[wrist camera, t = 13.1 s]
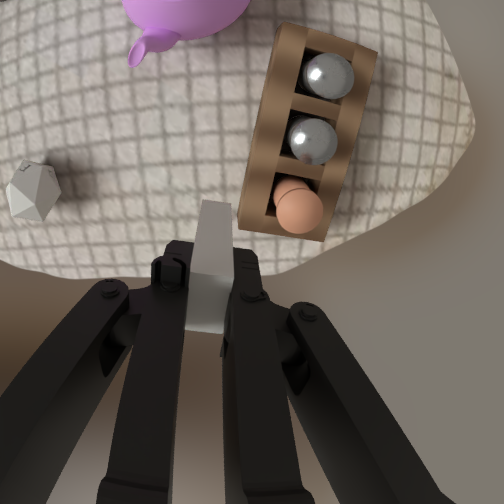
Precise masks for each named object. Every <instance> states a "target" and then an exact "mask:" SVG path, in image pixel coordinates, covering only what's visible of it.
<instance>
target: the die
mask: <svg viewBox="0 0 504 504" xmlns="http://www.w3.org/2000/svg"><path fill="white" fill-rule="evenodd" d="M6 192H7V197H8V201H9V206H10V210H11V215H12V217H16V218H22V219H28V220H34V221H40V222H43V221H44V220H45V218H46V216H47V215H48V213H49V212H50V210H51V208H52V207H53V205H54V204H55V202H56V201H57V199H58V198H59V196H60V195H61V190H60V187H59V184H58V181H57V178H56V174H55V171H54V168H53V167H52V166H48V165H43V164H40V163H35V162H31V161H27V160H23V161H22V163H21V165H20V166H19V168H18V169H17V171H16V173H15V174H14V176H13V178H12V179H11V181H10V183H9V185H8V186H7V188H6Z"/></svg>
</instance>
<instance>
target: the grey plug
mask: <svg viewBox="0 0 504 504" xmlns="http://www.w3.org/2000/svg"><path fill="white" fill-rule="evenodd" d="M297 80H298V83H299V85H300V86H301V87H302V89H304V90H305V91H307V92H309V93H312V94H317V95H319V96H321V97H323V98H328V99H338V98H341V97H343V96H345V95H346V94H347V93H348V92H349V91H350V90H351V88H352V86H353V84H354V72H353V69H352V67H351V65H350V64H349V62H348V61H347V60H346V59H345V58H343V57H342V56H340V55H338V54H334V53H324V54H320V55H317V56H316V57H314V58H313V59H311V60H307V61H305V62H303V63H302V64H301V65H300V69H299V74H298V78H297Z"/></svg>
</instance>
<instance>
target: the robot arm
mask: <svg viewBox="0 0 504 504" xmlns="http://www.w3.org/2000/svg"><path fill="white" fill-rule="evenodd" d="M2 1H6V0H0V2H2ZM258 264H259V263H258V257H257V255H256V254H255V253H254V252H253V251H252V250H250V249H242V248H235V247H233V239H232V211H231V203H224V202H218V201H211V200H204V199H203V200H202V205H201V211H200V216H199V221H198V226H197V232H196V237H195V243H192V242H185V241H178V240H172V241H171V242H170V243H169V244H167V245H166V248H165V252H164V255H163V256H160V257H158V258H156V259H154V260H153V262H152V263H151V285H149V286H148V287H145V288H141V289H131V290H128V286H127V285H126V284H125V283H124V282H122V281H120V280H117V279H105V280H102V281H99V282H97V283H96V284H95V285H94V286H93V287H92V288H91V289H90V290H89V291H88V292H87V293H86V294H85V295H84V296H83V297H82V298H81V300H80V301H79V302H78V303H77V304H76V305H75V306H74V307H73V308H72V309H71V311H70V312H69V313H68V314H67V315H66V316H65V317H64V319H63V320H62V321H61V322H60V323H59V324H58V325H57V326H56V328H55V329H54V330H53V331H52V332H51V334H50V335H49V336H48V337H47V338H46V339H45V341H44V342H43V343H42V344H41V345H40V347H39V348H38V349H37V350H36V352H35V353H34V354H33V355H32V357H31V358H30V359H29V360H28V361H27V363H26V364H25V365H24V366H23V368H22V369H21V370H20V372H19V373H18V374H17V376H16V377H15V378H14V379H13V381H12V382H11V383H10V385H9V386H8V387H7V389H6V390H5V391H4V393H3V394H2V395H1V397H0V504H46V502H47V500H48V498H49V496H50V493H51V492H52V490H53V488H54V486H55V484H56V482H57V480H58V478H59V476H60V474H61V472H62V470H63V468H64V466H65V464H66V463H67V461H68V459H69V457H70V455H71V453H72V451H73V449H74V447H75V446H76V444H77V442H78V440H79V438H80V436H81V435H82V432H83V431H84V429H85V427H86V425H87V424H88V422H89V420H90V418H91V416H92V415H93V413H94V411H95V409H96V408H97V406H98V404H99V402H100V400H101V399H102V397H103V395H104V394H105V392H106V390H107V389H108V387H109V385H110V383H111V382H112V380H113V378H114V377H115V375H116V373H117V372H118V370H119V368H120V367H121V365H122V363H123V361H124V360H125V358H126V357H127V355H128V353H129V352H130V350H131V348H132V345H133V348H132V353H131V356H130V361H129V365H128V368H127V372H126V377H125V381H124V385H123V390H122V394H121V399H120V404H119V408H118V413H117V418H116V423H115V428H114V433H113V439H112V445H111V450H110V456H109V462H108V469H107V473H106V476H105V477H104V478H103V479H102V480H101V483H100V485H99V489H98V493H97V500H96V504H172V486H173V464H174V445H175V430H176V417H177V404H178V393H179V382H180V371H181V362H182V352H183V343H184V332H185V330H192V331H200V332H209V333H218V334H222V333H223V330H224V337H223V343H222V347H221V352H220V357H222V392H223V393H222V395H223V396H222V397H223V444H224V476H225V501H226V504H315V502H314V498H313V497H312V495H311V493H310V492H309V491H307V490H306V489H305V488H304V487H303V485H302V481H301V476H300V469H299V463H298V457H297V452H296V446H295V440H294V434H293V428H292V422H291V416H290V411H289V405H288V399H287V396H288V398H289V400H290V402H291V404H292V406H293V408H294V410H295V413H296V415H297V417H298V419H299V421H300V423H301V425H302V427H303V430H304V432H305V434H306V436H307V438H308V440H309V442H310V444H311V446H312V448H313V450H314V452H315V454H316V456H317V458H318V461H319V462H320V465H321V467H322V469H323V471H324V473H325V475H326V477H327V479H328V481H329V482H330V485H331V487H332V489H333V491H334V493H335V495H336V497H337V499H338V501H339V503H340V504H455V503H454V502H453V501H452V500H450V499H449V498H448V497H447V496H445V495H444V494H443V493H442V492H441V491H440V490H439V488H438V487H437V485H436V483H435V482H434V480H433V478H432V477H431V475H430V473H429V472H428V470H427V469H426V467H425V466H424V464H423V462H422V461H421V459H420V457H419V456H418V454H417V453H416V451H415V449H414V448H413V446H412V445H411V443H410V442H409V440H408V439H407V437H406V435H405V434H404V433H403V431H402V429H401V427H400V426H399V424H398V423H397V421H396V420H395V418H394V417H393V415H392V414H391V412H390V410H389V409H388V407H387V406H386V404H385V403H384V401H383V400H382V398H381V397H380V395H379V393H378V392H377V391H376V389H375V387H374V386H373V384H372V383H371V382H370V380H369V378H368V377H367V375H366V374H365V372H364V371H363V369H362V368H361V366H360V365H359V363H358V362H357V360H356V359H355V357H354V356H353V354H352V353H351V351H350V350H349V348H348V347H347V345H346V344H345V342H344V341H343V340H342V338H341V337H340V335H339V334H338V332H337V331H336V329H335V328H334V326H333V325H332V323H331V322H330V320H329V319H328V318H327V316H326V314H325V313H324V312H323V311H322V310H321V309H320V308H319V307H318V306H316V305H314V304H311V303H308V302H297V303H295V304H293V305H292V306H291V308H290V309H288V308H285V307H282V306H279V305H277V304H275V303H273V302H271V301H270V298H269V296H268V294H267V292H265V291H264V290H263V288H262V282H261V275H260V271H259V265H258Z"/></svg>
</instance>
